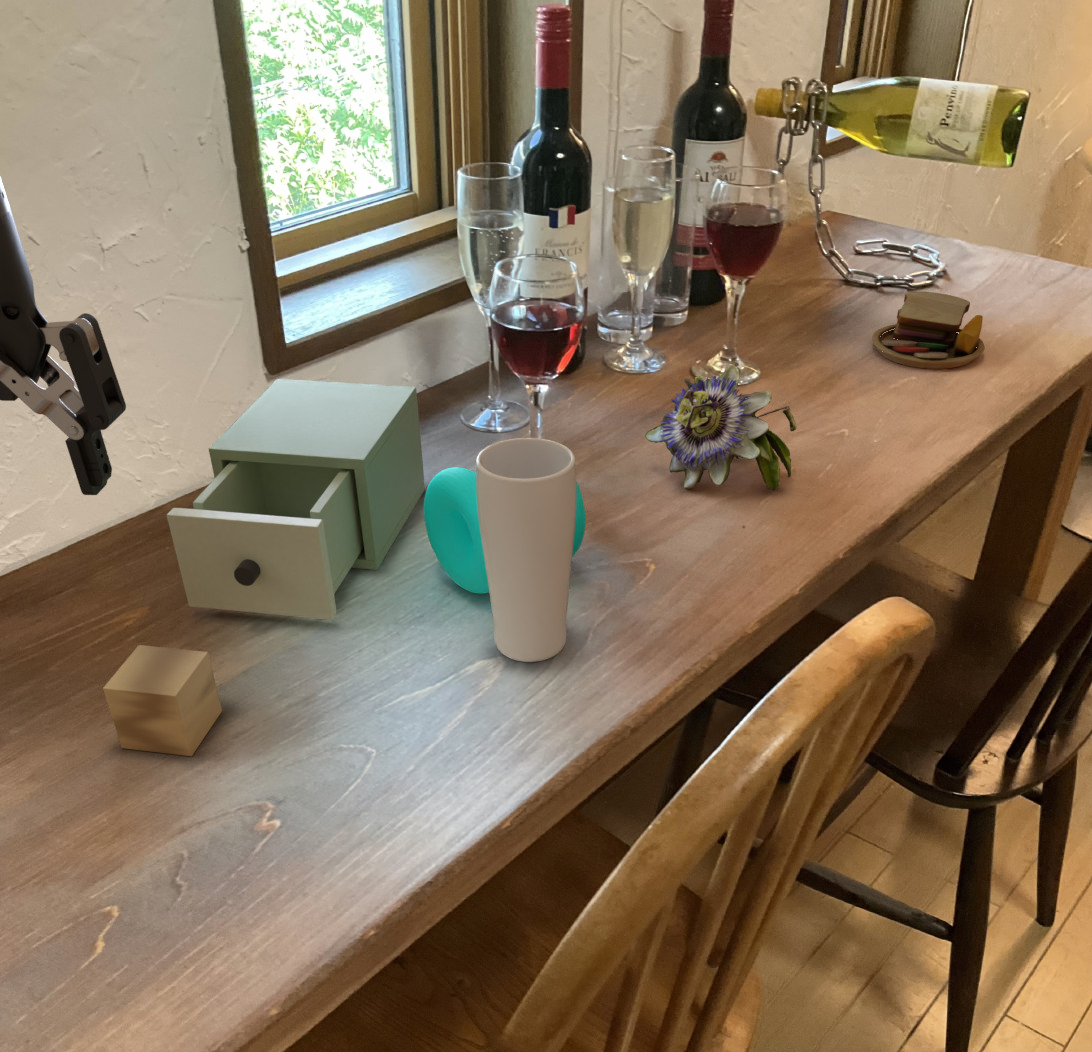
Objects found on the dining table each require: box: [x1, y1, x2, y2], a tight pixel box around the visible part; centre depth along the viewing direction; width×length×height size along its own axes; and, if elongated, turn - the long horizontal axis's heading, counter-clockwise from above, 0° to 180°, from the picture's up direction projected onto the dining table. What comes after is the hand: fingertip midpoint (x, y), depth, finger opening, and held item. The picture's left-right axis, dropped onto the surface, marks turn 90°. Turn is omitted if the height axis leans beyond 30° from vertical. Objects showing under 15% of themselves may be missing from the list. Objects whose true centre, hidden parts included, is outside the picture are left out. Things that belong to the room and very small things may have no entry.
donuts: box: [423, 466, 587, 595], centre depth 89 cm, size 10×10×10 cm
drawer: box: [166, 461, 364, 621], centre depth 89 cm, size 15×12×8 cm
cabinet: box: [208, 378, 426, 571], centre depth 97 cm, size 15×13×10 cm
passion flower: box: [644, 363, 798, 492], centre depth 104 cm, size 11×11×12 cm
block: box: [102, 644, 223, 757], centre depth 75 cm, size 5×5×5 cm
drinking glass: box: [475, 437, 577, 663], centre depth 79 cm, size 7×7×15 cm
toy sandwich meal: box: [871, 291, 986, 370], centre depth 129 cm, size 12×14×5 cm
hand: (31, 488), depth 70 cm, fingers open, 8 cm apart
